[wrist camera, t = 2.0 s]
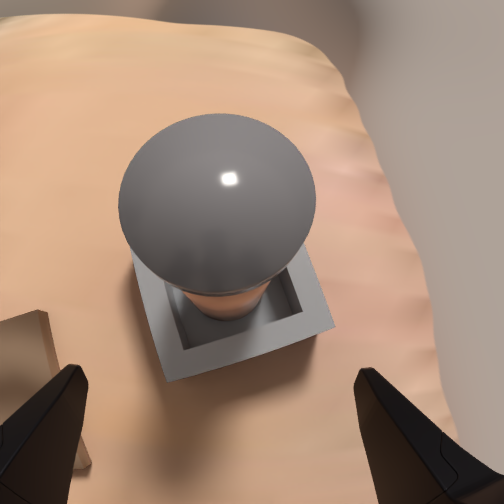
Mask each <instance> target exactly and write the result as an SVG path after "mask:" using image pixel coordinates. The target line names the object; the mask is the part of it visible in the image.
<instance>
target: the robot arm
mask: <svg viewBox="0 0 504 504" xmlns="http://www.w3.org/2000/svg"><path fill="white" fill-rule="evenodd" d="M87 393H88V380H87V378H86V376H85V374H84V372H83V370H82V368H81V366H80V365H75V364H68V365H67V366H66V367H64V368H63V369H62V370H61V371H60V372H59V373H58V374H56V375H55V376H54V377H53V378H52V379H51V380H50V381H49V382H47V383H46V384H45V385H44V386H43V387H42V388H41V389H40V390H38V391H37V392H36V393H35V394H34V395H33V396H32V397H31V398H30V399H28V400H27V401H26V402H25V403H24V404H23V405H22V406H21V407H20V408H19V409H17V410H16V411H15V412H14V413H13V414H12V415H11V416H10V417H9V418H8V419H6V420H5V421H4V422H3V425H2V424H1V425H0V504H67V500H68V494H69V488H70V483H71V477H72V472H73V467H74V462H75V458H76V453H77V448H78V444H79V440H80V435H81V431H82V427H83V421H84V413H85V406H86V399H87ZM354 396H355V402H356V408H357V415H358V422H359V428H360V432H361V436H362V440H363V444H364V447H365V451H366V455H367V459H368V463H369V466H370V470H371V474H372V478H373V482H374V486H375V490H376V494H377V499H378V503H379V504H504V475H502V474H499V473H497V472H495V471H493V470H492V469H490V468H489V467H487V466H486V465H485V464H483V463H481V462H480V461H479V460H478V459H476V458H475V457H473V456H472V455H471V454H469V453H468V452H467V451H465V450H464V449H463V448H461V447H460V446H459V445H458V444H457V443H455V442H454V441H453V440H452V439H451V438H450V437H449V436H447V435H446V434H445V433H444V432H442V430H441V429H440V428H439V427H437V426H436V425H435V424H434V423H433V422H432V421H431V420H430V419H429V418H428V417H427V416H425V415H424V414H423V413H422V412H421V411H420V410H419V409H418V408H417V407H416V406H414V405H413V404H412V403H411V402H410V401H409V400H408V399H407V398H406V397H405V396H404V395H402V394H401V393H400V392H399V391H398V390H397V389H396V388H395V387H394V386H393V385H392V384H390V383H389V382H388V381H387V380H386V379H385V378H384V377H383V376H382V375H381V374H380V373H378V372H377V371H376V370H375V369H374V368H372V367H368V368H361V369H360V370H359V373H358V375H357V378H356V380H355V383H354Z"/></svg>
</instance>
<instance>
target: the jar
mask: <svg viewBox="0 0 504 504" xmlns="http://www.w3.org/2000/svg"><path fill="white" fill-rule="evenodd" d="M315 205H316V194H315V185H314V181H313V177H312V174H311V171H310V169H309V166H308V164H307V163H306V161H305V159H304V157H303V156H302V154H301V153H300V152H299V150H298V149H297V148H296V146H295V145H294V144H293V143H292V142H291V141H290V140H289V139H288V138H286V137H285V136H284V135H283V134H281V133H280V132H279V131H277V130H276V129H274V128H272V127H271V126H269V125H267V124H265V123H262V122H260V121H258V120H255V119H252V118H249V117H244V116H240V115H233V114H206V115H200V116H195V117H191V118H188V119H185V120H182V121H179V122H177V123H175V124H172V125H170V126H168V127H167V128H165V129H163V130H162V131H160V132H159V133H157V134H156V135H155V136H153V137H152V138H151V139H150V140H149V141H147V142H146V143H145V144H144V145H143V146H142V147H141V149H140V150H139V151H138V152H137V153H136V155H135V156H134V158H133V159H132V161H131V162H130V164H129V166H128V168H127V170H126V172H125V174H124V177H123V180H122V183H121V187H120V192H119V203H118V209H119V219H120V223H121V227H122V231H123V233H124V235H125V238H126V240H127V242H128V244H129V245H130V247H131V249H132V250H133V252H134V253H135V254H136V256H137V257H138V258H139V259H140V260H141V261H142V263H143V264H144V265H145V266H146V267H147V268H148V269H149V270H150V271H152V272H153V273H154V274H155V275H156V276H157V277H158V278H160V279H161V280H163V281H164V282H166V283H167V284H169V285H170V286H172V287H175V288H177V289H179V290H181V291H182V292H183V293H184V294H185V295H186V297H187V298H188V299H189V300H190V301H191V302H192V303H193V304H194V305H195V307H196V308H197V309H198V310H199V311H200V312H201V313H203V314H204V315H206V316H207V317H209V318H211V319H214V320H218V321H234V320H238V319H240V318H243V317H244V316H246V315H248V314H249V313H250V312H252V311H253V310H254V309H255V307H256V306H257V305H258V303H259V301H260V299H261V298H262V296H263V294H264V292H265V290H266V288H267V287H268V285H269V283H270V281H271V280H272V279H273V278H274V277H276V276H277V275H278V274H280V273H281V272H282V271H283V270H284V269H285V268H286V267H287V266H288V264H289V263H290V262H291V261H292V259H293V258H294V257H295V255H296V254H297V252H298V251H299V249H300V247H301V246H302V244H303V242H304V241H305V239H306V237H307V235H308V233H309V231H310V228H311V225H312V222H313V218H314V213H315Z"/></svg>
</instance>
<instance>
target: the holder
mask: <svg viewBox="0 0 504 504" xmlns="http://www.w3.org/2000/svg"><path fill="white" fill-rule="evenodd" d="M130 250H131V254H132V259H133V263H134V268H135V272H136V276H137V281H138V285H139V289H140V293H141V297H142V301H143V304H144V308H145V312H146V316H147V319H148V323H149V326H150V330H151V333H152V337H153V340H154V344H155V347H156V350H157V354H158V357H159V360H160V363H161V366H162V369H163V372H164V376H165V379H166V382H167V383H168V382H172V381H176V380H180V379H183V378H187V377H190V376H194V375H197V374H201V373H204V372H208V371H211V370H214V369H218V368H221V367H224V366H227V365H231V364H234V363H237V362H240V361H243V360H246V359H249V358H252V357H255V356H258V355H261V354H264V353H267V352H270V351H273V350H276V349H279V348H281V347H284V346H287V345H290V344H292V343H295V342H298V341H301V340H303V339H306V338H309V337H311V336H314V335H316V334H319V333H322V332H324V331H327V330H329V329H332V328H334V327H335V324H334V321H333V319H332V316H331V313H330V310H329V308H328V305H327V302H326V299H325V297H324V294H323V291H322V289H321V286H320V283H319V281H318V278H317V276H316V273H315V270H314V268H313V265H312V263H311V260H310V257H309V255H308V252H307V250H306V247H305V245H304V242H303V244H302V246H301V247H300V249H299V251H298V252H297V254H296V255H295V257H294V258H293V259H292V261H291V262H290V263H289V264H288V266H287V267H286V268H285V269H284V270H283V271H282V272H281V273H280V274H278V275H277V276H276V277H274V278H273V279H272V280H271V281H270V283H269V285H268V287H267V288H266V290H265V292H264V294H263V296H262V298H261V299H260V301H259V303H258V305H257V306H256V307H255V309H254V310H253V311H252V312H250V313H249V314H248V315H246V316H244V317H243V318H240V319H238V320H234V321H218V320H214V319H211V318H209V317H207V316H206V315H204V314H203V313H201V312H200V311H199V310H198V309H197V308H196V307H195V305H194V304H193V303H192V302H191V301H190V300H189V299H188V298H187V297H186V295H185V294H184V293H183V292H182V291H181V290H179V289H177V288H175V287H172V286H170V285H169V284H167V283H166V282H164V281H163V280H161V279H160V278H158V277H157V276H156V275H155V274H154V273H153V272H152V271H150V270H149V269H148V268H147V267H146V266H145V265H144V264H143V263H142V261H141V260H140V259H139V258H138V257H137V256H136V254H135V253H134V252H133V250H132V249H131V247H130Z"/></svg>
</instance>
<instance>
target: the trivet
mask: <svg viewBox="0 0 504 504" xmlns="http://www.w3.org/2000/svg"><path fill="white" fill-rule="evenodd" d="M59 372H60V368H59V364H58V360H57V356H56V352H55V347H54V343H53V338H52V333H51V329H50V324H49V318H48V313H47V312H44V311H41V310H35V311H31V312H28V313H25V314H22V315H19V316H16V317H13V318H10V319H7V320H4V321H1V322H0V425H1V424H2V425H3V422H4V421H5V420H6V419H8V418H9V417H10V416H11V415H12V414H13V413H14V412H15V411H16V410H17V409H19V408H20V407H21V406H22V405H23V404H24V403H25V402H26V401H27V400H28V399H30V398H31V397H32V396H33V395H34V394H35V393H36V392H37V391H38V390H40V389H41V388H42V387H43V386H44V385H45V384H46V383H47V382H49V381H50V380H51V379H52V378H53V377H54V376H55V375H56V374H58V373H59ZM91 463H92V462H91V459H90V457H89V455H88V452H87V450H86V447H85V445H84V442H83V440H82V437H81V435H80V440H79V444H78V448H77V453H76V458H75V462H74V467H73V469H84V468H85V467H87V466H88V465H90V464H91Z"/></svg>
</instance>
